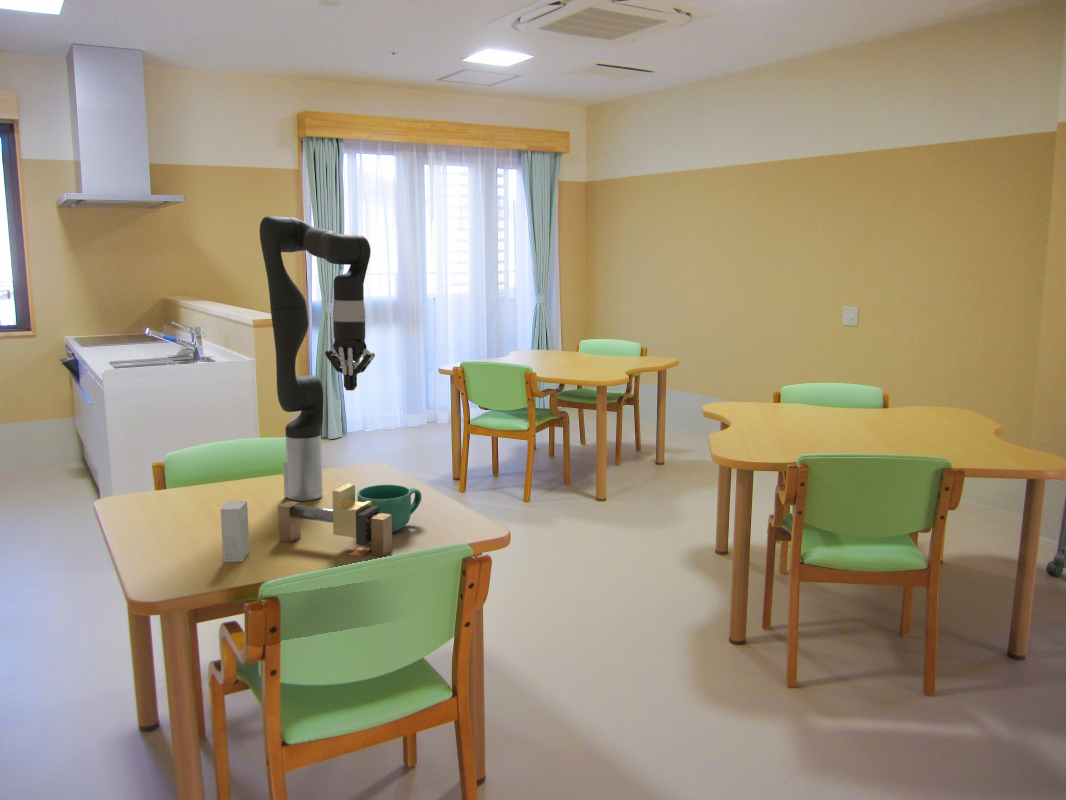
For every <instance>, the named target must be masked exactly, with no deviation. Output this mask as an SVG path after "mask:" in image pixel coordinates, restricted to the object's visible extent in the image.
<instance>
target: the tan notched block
mask: <svg viewBox="0 0 1066 800" xmlns="http://www.w3.org/2000/svg"><path fill="white" fill-rule="evenodd" d="M331 496H332V509H333V523H332V527H333V535H334V536H341V537H348V538H353V539H354V538H355V539H356V514H357V513H359V512H361V511H362V510H364V509H366V508H368V507H370V506H371V505H372V501H366V502H358V500H357V501H356V485H355V484H354V483H345V484H343V485H341V486H339V487H337V488H334V489H333V490H332V495H331ZM369 532H370V528H366V533H369Z"/></svg>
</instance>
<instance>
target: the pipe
mask: <svg viewBox="0 0 1066 800" xmlns="http://www.w3.org/2000/svg"><path fill="white" fill-rule="evenodd" d="M277 507H278V508H277V509H278V513H277V514H278V537H279V538H278V539H279V540H278V541H279V542H284V543H292V542H294V541H296V540H298V539H300V538H301V519H302V520H307V521H308V520H310V521H316V522H323V523H330V524H331V523H332V524H333V508H332V509H330V508H323V507H318V506H317V507H316V506H308V505H302V504H301V503H300V501H299V502H298V501H294V500H287V501H284V502H283V503H281V504H278V506H277ZM366 528H371V542H369V543H368V544H366V545H365V546H362V545H360V546H359V547H358V548H357V549H355V550H353V551H352V552H350V553H349V554H348V556H351V557H359V558H361V557H363V556H365V555H366V554H368V553H369V552H370V551H371V556H377V557H382V556H384V557H385V556H386V555H388V554H390V553H391V552H392V551H393V533H392V515H391V514H384V513H379V514H377V515H371V516H369V517H368V518H366ZM391 550H392V551H391ZM390 551H391V552H390Z"/></svg>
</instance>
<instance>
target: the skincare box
mask: <svg viewBox="0 0 1066 800" xmlns="http://www.w3.org/2000/svg"><path fill="white" fill-rule="evenodd" d="M248 515H249V514H248V501H247V500H227V502H226V503H225V504H224V505H223V506H222V507H221V508H220V524H221V527H220V528H221V541H222V559H223V560H222V561H223V562H224V563H243V562H244V560H245V558H246V557H247V556H248V555H249V553H250V533H249V516H248Z"/></svg>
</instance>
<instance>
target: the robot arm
mask: <svg viewBox="0 0 1066 800" xmlns="http://www.w3.org/2000/svg"><path fill="white" fill-rule="evenodd" d="M259 240H260V242H259V243H260V246H261V247H260V248H261V252H262V256H263V263H264V267H265V272H266V279H267V285H268V294H269V303H270V304H269V305H270V308H269V309H270V316H271V324H272V330H273V339H274V340H273V341H274V347H275V349H274V350H275V361H276V363H275V365H276V370H275V371H276V394H277V400H278V404H279V406H280V408H281V409H282V411H284V412H285V413H293V412H300V414H299V415H298V416H297V417H296V418H295V419H294V420H291V421H290V422H289V423H287V424H286V425H285V428H284V429H285V449H286V450H285V453H286V455H285V456H286V458H285V459H286V461H284V463H283V467H282V468H283V492H284V498H287V499H289V500H290V501H295V502H298V501H299V502H300V501H301V502H303V501H314V500H317V499H318V500H319V498H322V497H323V465H322V464H323V460H322V456H323V455H322V427H323V423H324V388H323V385H322V382H321V380H320V379H319V378H318V376H316V375H312V374H310V375H309V374H308V375H307V374H306V375H299V376H297V375H296V361H297V356H298V353H299V351H300V348H301V346H302V344H303V341H304V340H305V337H306V336H307V332H308V329H309V318H308V317H309V315H308V307H307V306H308V305H307V302H306V299H305V297H304V295H303V293H302V292H301V290H300V289H299V287H298V286H297V285H296V283H295V282H294V281H293V279H292V278H291V277H290V275H289V274H288V271H287V270H286V267H285V265H284V261H283V256H282V253H296V252H303V251H306V252H307V253H308V254H310V255H312V257H313V256H314V257H317V258H320V259H322V260H323V259H324V260H325V261H326V262H328V263H329V264H332V265H338V266H339V265H341V266H342V265H345V266H349V268H348V269H347V272H346V273H343V274H339V275H336V276H335V277H334V279H333V307H332V315H333V316H332V319H333V321H332V323H333V325H332V326H333V327H332V329H333V338H334V342H333V345H332V348H330V349H329V350H326V351H325V352H324V354H325V356H326V358H327V359H328V361H329V363H330V364H331V365H332V367H333V368H334V369H335V371H336V373H341V374H342V375H343V388H345V391H349V392H350V391H351V392H352V391H355V390H356V388H357V386H358V374H361V373H364V372H365V371H366V369H367V368H368V366H369V365H370V364H371V363H372V361H373V360H374V358H375V356H376V354H375V353H374V352H371V351H370V350H368V347H367V344H366V341H365V340H366V309H365V300H364V298H365V297H364V295H365V294H364V289H365V287H364V284H365V280H366V279H365V278H366V275H367V271H368V266H369V263H370V259H371V252H372V251H371V249H372V248H371V246H370V243H369V240H368V239H367V238H366V237H365V236H363V235H359V234H342V233H341V234H340V233H338V232H335V231H333V230H329V229H324V228H319V227H314V226H312V225H310V224H308V223H306V222H305V221H303V220H301V219H299V218H296V217H294V216H293V217H292V216H275V215H274V216H272V215H269V216H265V217H263V218H262V219H261V221H260V225H259ZM361 358H362V359H361ZM360 359H361V361H360Z"/></svg>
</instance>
